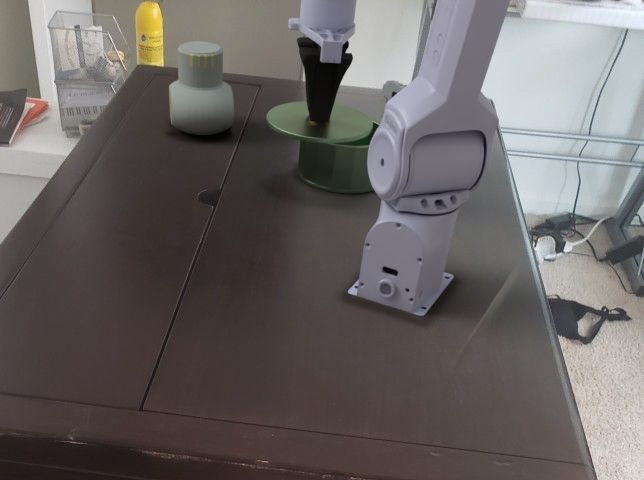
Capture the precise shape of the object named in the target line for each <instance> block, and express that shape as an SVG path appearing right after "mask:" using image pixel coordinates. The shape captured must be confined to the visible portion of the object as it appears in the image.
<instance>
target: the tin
mask: <svg viewBox="0 0 644 480" xmlns="http://www.w3.org/2000/svg"><path fill="white" fill-rule="evenodd" d="M371 120H372V122H373V128H372V131H371V133H370V134H369V135H368V136H366V137H364V138H362V139H359V140H356V141H351V142H345V143H314V142H307V141H301V140H299V152H298V161H297V162H298V164H297V174H298V177H299V178H300V179H301V181H303V182H304V183H306V184H307V185H309V186H311V187H312V188H316V189H318V190H322V191H326V192H330V193H336V194H350V195H351V194H363V193H369V192H373V191H375V190H374V189H373V187H372V185H371V182H370V179H369V175H368V166H367V158H368V150H369V145H370V142H371V140H372V138H373V136H374V133H375V132H376V130H377V128H378V127H379V125H380V122H378V121H376V119H373V118H371Z"/></svg>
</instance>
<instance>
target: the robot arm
mask: <svg viewBox="0 0 644 480" xmlns="http://www.w3.org/2000/svg"><path fill="white" fill-rule="evenodd" d="M510 4H511V0H437V1H436V4H435V7H434V10H433V15H432V20H431V23H430V27H429V31H428V35H427V38H426V42H425V47H424V50H423V54H422V59H421V62H420V66H419V69H418V74H417V76H416V77H414V79H413V80H412V81H411V82H409V83H408V84H406V85H407V86H406V87H404V88H403V89H402V90H401V91H399V92H398V93H397V94H396V95H395V96H393V97H392V98H391V99H390V100H389V101H388V102H387V103H386V106H385V111H384V115H383V118H382V121H381V123H380V125H379V127H378V128H377V130H376V132H375V133H374V136H373V138H372V140H371V142H370V145H369V150H368V158H367V166H368V175H369V179H370V182H371V185H372V187H373V189H374V190H373V191H374V192H375V193H376V196H378V197H379V198H380V199H381V200H380V206H379V207H380V208H379V213H378V218H377V219H376V222H375V223H374V224H373V225H372V227H371V228H370V229H369V231H368V233H367V235H366V237H365V240H364V243H363V250H362V257H361V263H360V270H359V276H358V279H357V280H356V282H355V283H354V284H353V285H352V286H351V287H350V288H349V289H348V290H347V293H348V294H350V295H352V296H356V297H359V298H361V299H364V300H365V299H366V300H368V301H372V302H375V303H378V304H381V305H383V306H384V305H385V306H388V307H391V308H394V309H397V310H400V311H403V312H406V313H409V314H413V315H415V316H421V317H423V316H424V315H426V314H427V312H428V311H429V310H430V309H431V307H432V306H433V304H434V303H435V302H436V301H437V300H438V298H439V297H440V296H441V294H442V293H443V292H444V290H445V289H446V288H447V287H448V286H449V284H450V283H451V281H452V280H453V279H454V277H455V276H454V275H453V274H452V273H449V272H446V271H445V269H446V265H447V260H448V256H449V252H450V248H451V245H452V239H453V236H454V231H455V227H456V224H457V219H458V214H459V211H460V206H461V205H464V204H467V203H469V198H470V193H471V192H473V191H476V190H477V189H478V188H480V187H481V186H482V185H483V183H484V182H485V180H486V178H487V176H488V173H489V171H490V168H491V166H492V165H491V164H492V160H493V145H494V139H495V134H496V131H497V128H498V125H499V123H500V119H499V116H498V114H497V112H496V110H495V108H494V105H493V104H492V102H490V100H489V99H488V98H487V97H486V96H485V94H484V93H483V92H482V88H483V86H484V82H485V80H486V76H487V73H488V70H489V67H490V64H491V60H492V58H493V55H494V53H495V52H494V51H495V49H496V46H497V42H498V40H499V37H500V34H501V31H502V28H503V26H504V25H503V24H504V22H505V19H506V16H507V13H508V9H509V8H510V7H509V6H510ZM356 8H357V0H300V11H299V17H290V18H289V19H288V23H287V27H288V29H289V30H291V31H298V32H299V33H301V34H303V35H304V36H301V37H298V38H297V39H296V44H297V47H298V53H299V54H298V55H299V57H300V61H301V63H302V66H303V71H304V81H305V83H304V84H305V99H306V100H305V101H307V107H308V112H309V117H310V121H314V122H328V121H329V118H330V115H331V112H332V109H333V106H334V103H335V102H336V98H337V95H338V92H339V89H340V85H341V83H342V81H343V79H344V77H345V75H346V73H347V71H349V70H348V69H349V68H350V67H351V64H352V63H353V60H354V56H353V54H352V52H347V50H348V49H349V47H350V42H349V40H350V39H351V38H352V37H353V36H354V35H355V34H356V33H355V32H356V23H355V16H356ZM356 287H357V288H356ZM424 308H425V309H424Z"/></svg>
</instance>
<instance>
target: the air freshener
mask: <svg viewBox="0 0 644 480" xmlns="http://www.w3.org/2000/svg"><path fill="white" fill-rule="evenodd" d="M177 74H178V75H177V77H178V78H177V80H175V81H173V82H171V83H170V84H169V85H168V102H169V115H170V124H171V126H172V127H174V128H176V129H177V130H179V131H180V132H183V133H186V134H189V135H193V136H211V135H216V134H220V133H223V132H224V131H226V130H228V129H230V128H231V127H232V126H233V125H234V122H235V121H234V120H235V102H234V93H233V88H232V86H231V85H230V84H229V83H227V82H225V81H224V50H223V48H222V47H221V45H219V44H217V43H214V42H210V41H203V40H202V41H201V40H195V41H186V42H183V43H181V44H180V45H179V46H178V47H177Z"/></svg>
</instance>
